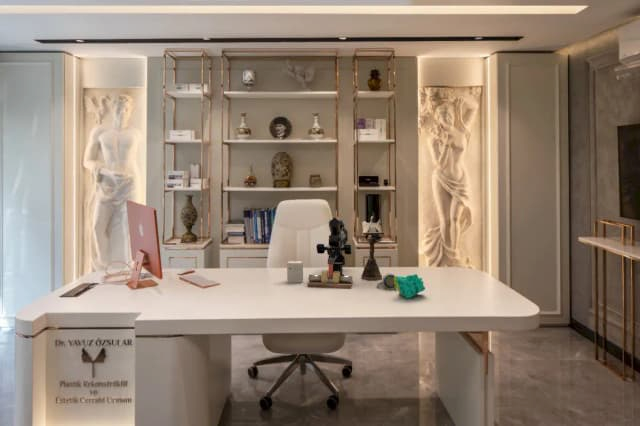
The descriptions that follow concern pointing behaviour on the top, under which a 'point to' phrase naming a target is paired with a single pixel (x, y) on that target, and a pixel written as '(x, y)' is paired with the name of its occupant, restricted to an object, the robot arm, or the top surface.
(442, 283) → the top surface
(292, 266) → the small box
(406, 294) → the teal lumpy block
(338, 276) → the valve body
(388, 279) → the ceramic mug
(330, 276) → the lever
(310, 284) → the walnut board
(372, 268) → the bird statue
